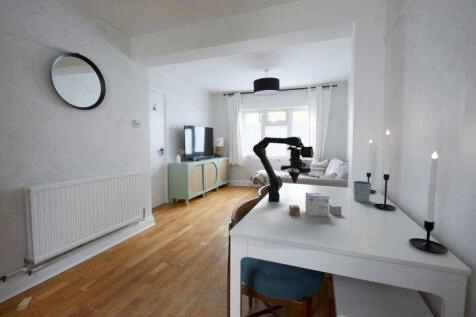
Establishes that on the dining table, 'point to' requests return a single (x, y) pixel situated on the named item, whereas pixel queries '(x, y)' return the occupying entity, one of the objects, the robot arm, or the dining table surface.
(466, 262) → the dining table surface
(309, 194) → the light bulb box
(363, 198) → the grey green container
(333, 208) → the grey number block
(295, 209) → the brown bevelled block
